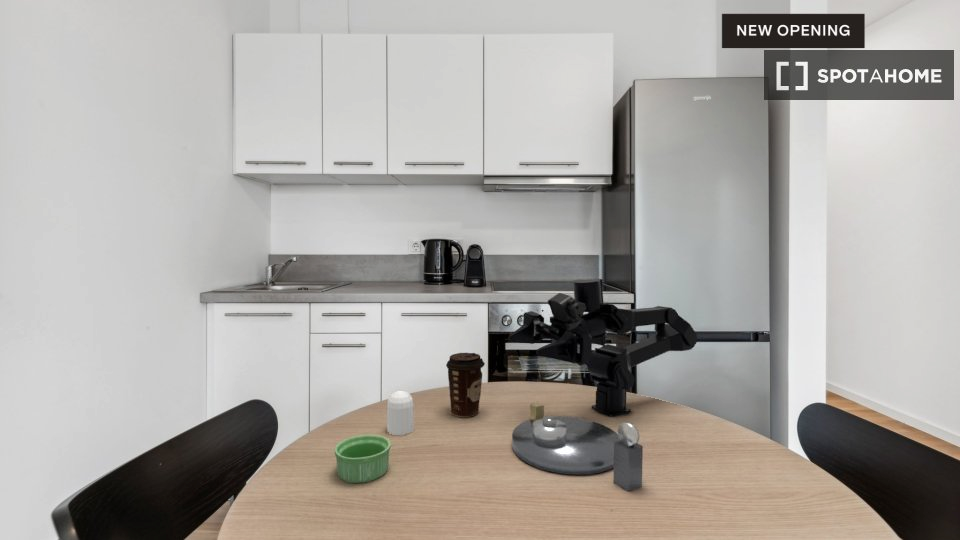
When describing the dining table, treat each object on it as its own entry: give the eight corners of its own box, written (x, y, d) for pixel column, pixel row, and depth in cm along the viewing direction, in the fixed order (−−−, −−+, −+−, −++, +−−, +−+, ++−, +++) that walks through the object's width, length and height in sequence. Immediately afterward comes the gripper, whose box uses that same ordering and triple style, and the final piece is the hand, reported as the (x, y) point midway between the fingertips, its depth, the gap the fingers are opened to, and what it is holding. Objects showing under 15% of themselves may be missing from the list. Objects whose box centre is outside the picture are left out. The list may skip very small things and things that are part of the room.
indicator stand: (625, 477, 71) (626, 417, 71) (642, 487, 68) (644, 424, 68) (612, 481, 70) (613, 421, 69) (629, 492, 67) (630, 428, 66)
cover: (551, 431, 83) (552, 410, 83) (573, 443, 78) (573, 420, 78) (525, 438, 80) (526, 415, 80) (546, 451, 75) (546, 427, 75)
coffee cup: (486, 407, 103) (486, 352, 102) (482, 420, 95) (483, 360, 94) (449, 405, 104) (449, 351, 103) (443, 418, 96) (443, 359, 95)
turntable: (571, 419, 95) (571, 395, 95) (647, 456, 78) (647, 428, 77) (492, 438, 85) (492, 411, 85) (559, 486, 68) (559, 453, 68)
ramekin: (400, 463, 76) (400, 438, 75) (371, 490, 67) (371, 462, 67) (356, 455, 79) (356, 431, 78) (322, 480, 70) (322, 453, 70)
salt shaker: (415, 424, 92) (415, 387, 92) (412, 435, 87) (411, 395, 87) (389, 424, 92) (389, 387, 92) (384, 435, 87) (384, 395, 87)
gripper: (551, 284, 101) (495, 296, 93) (614, 302, 85) (553, 318, 78) (551, 330, 103) (496, 345, 96) (613, 356, 88) (553, 376, 80)
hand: (522, 345), depth 87 cm, fingers open, 9 cm apart
